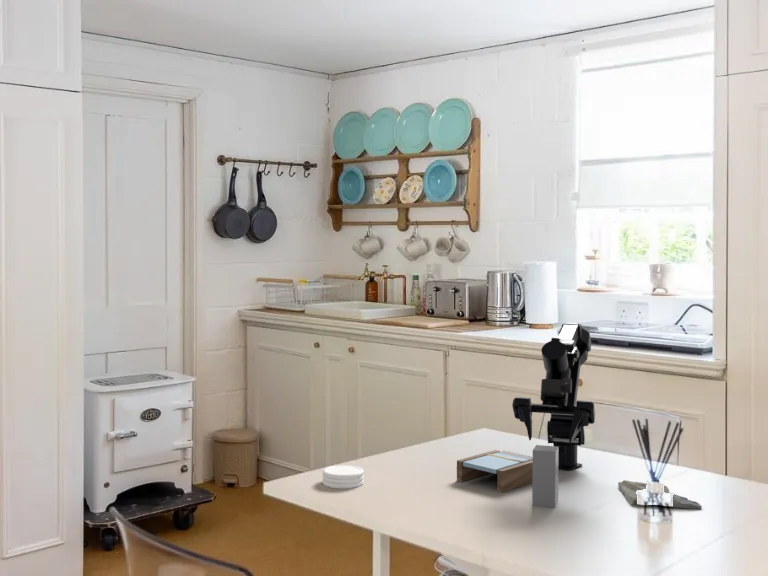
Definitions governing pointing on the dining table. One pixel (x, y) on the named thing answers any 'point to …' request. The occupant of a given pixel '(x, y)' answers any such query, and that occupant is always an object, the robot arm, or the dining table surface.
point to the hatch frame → (499, 473)
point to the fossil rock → (631, 488)
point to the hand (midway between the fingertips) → (549, 440)
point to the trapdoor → (496, 461)
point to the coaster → (343, 476)
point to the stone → (545, 476)
